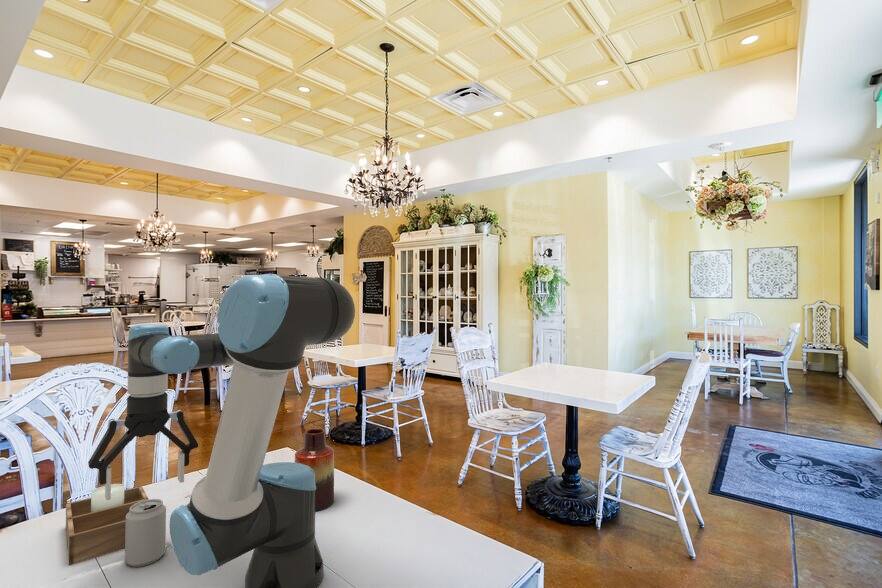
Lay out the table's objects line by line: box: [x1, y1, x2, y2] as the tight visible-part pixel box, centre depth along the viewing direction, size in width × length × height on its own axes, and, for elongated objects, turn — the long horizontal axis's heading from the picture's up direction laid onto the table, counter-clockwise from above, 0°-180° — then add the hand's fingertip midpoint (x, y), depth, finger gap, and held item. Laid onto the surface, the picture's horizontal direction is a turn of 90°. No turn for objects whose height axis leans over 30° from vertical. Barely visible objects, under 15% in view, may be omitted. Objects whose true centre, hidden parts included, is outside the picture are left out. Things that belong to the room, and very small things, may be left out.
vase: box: [294, 428, 335, 513], centre depth 124 cm, size 11×11×20 cm
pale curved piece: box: [90, 483, 125, 512], centre depth 109 cm, size 7×7×9 cm
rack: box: [65, 485, 149, 566], centre depth 106 cm, size 20×16×7 cm
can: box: [124, 498, 167, 568], centre depth 97 cm, size 8×8×12 cm
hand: (145, 489), depth 98 cm, fingers open, 13 cm apart
